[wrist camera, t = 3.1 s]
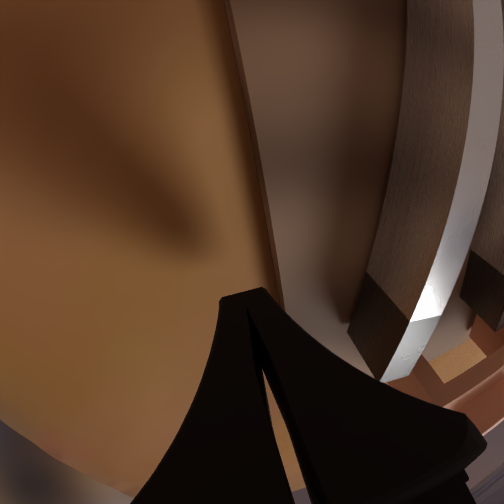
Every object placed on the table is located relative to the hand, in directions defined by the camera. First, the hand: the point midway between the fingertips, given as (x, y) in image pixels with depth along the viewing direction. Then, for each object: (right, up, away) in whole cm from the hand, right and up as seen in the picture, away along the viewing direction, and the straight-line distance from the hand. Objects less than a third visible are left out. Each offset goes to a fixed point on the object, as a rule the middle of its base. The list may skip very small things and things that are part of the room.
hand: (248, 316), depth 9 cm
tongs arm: (+5, +5, 0) cm, 7 cm away
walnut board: (+7, +6, +1) cm, 9 cm away
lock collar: (+11, -3, +5) cm, 13 cm away
